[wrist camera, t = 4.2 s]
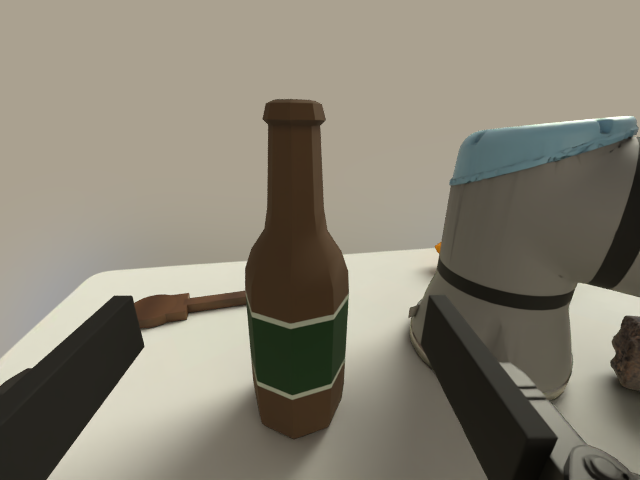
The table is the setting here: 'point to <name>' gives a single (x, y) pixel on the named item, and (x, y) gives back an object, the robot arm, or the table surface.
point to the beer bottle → (296, 282)
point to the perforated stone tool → (628, 353)
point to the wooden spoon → (181, 306)
